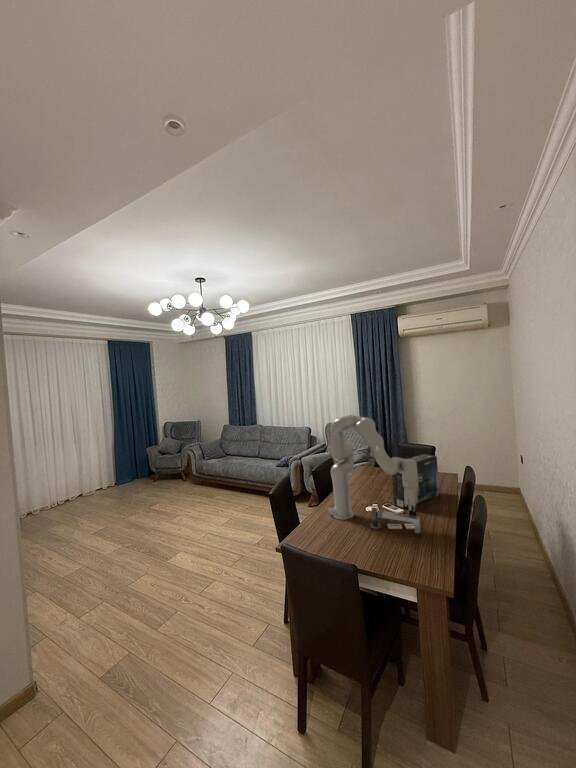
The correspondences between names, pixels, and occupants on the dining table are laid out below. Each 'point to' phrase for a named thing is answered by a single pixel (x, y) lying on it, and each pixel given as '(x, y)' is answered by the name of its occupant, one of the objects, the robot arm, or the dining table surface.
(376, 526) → the post
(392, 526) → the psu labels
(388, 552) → the dining table surface
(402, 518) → the cable arm
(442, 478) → the dining table surface
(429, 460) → the router box
